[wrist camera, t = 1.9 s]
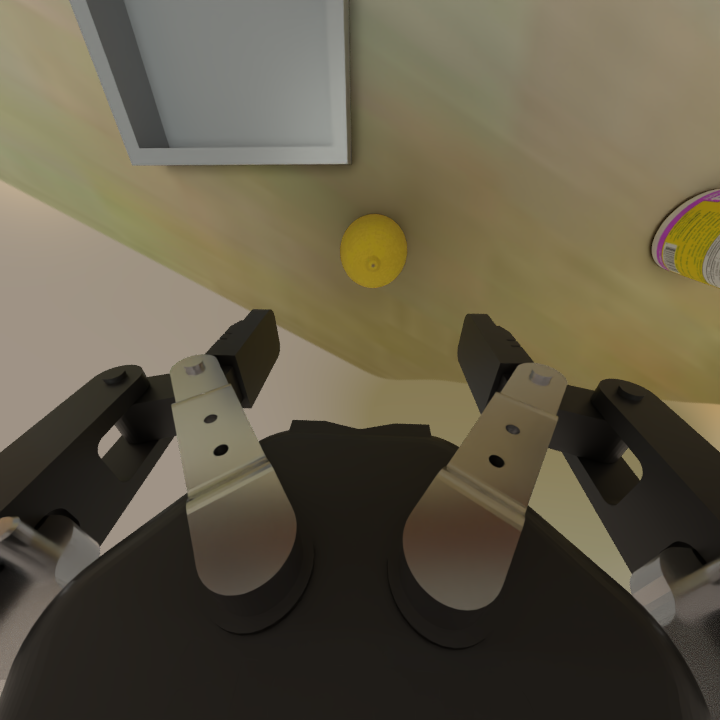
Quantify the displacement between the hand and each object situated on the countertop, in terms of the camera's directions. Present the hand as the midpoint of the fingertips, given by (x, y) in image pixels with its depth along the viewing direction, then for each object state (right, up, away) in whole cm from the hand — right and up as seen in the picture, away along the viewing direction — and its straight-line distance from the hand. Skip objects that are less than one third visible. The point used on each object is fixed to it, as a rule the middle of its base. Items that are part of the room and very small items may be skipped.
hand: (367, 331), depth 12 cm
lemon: (+1, +10, +15) cm, 18 cm away
